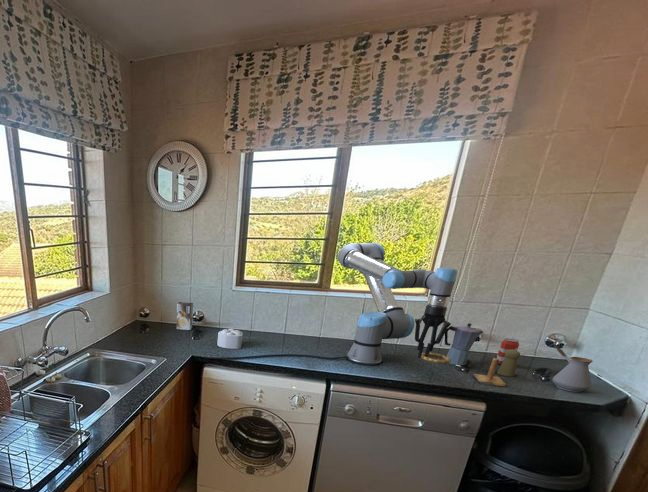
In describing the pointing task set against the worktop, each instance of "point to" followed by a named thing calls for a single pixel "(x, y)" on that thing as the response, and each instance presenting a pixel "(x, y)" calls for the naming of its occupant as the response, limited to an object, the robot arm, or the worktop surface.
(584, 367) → the coffee pot
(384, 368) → the worktop surface
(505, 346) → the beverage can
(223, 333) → the lumpy-topped squat cylinder
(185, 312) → the coffee box
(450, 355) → the moka pot
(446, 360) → the ring
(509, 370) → the cork
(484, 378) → the wooden peg stand
